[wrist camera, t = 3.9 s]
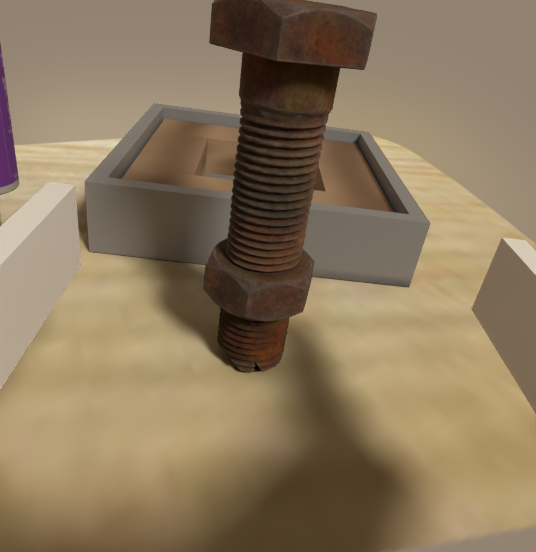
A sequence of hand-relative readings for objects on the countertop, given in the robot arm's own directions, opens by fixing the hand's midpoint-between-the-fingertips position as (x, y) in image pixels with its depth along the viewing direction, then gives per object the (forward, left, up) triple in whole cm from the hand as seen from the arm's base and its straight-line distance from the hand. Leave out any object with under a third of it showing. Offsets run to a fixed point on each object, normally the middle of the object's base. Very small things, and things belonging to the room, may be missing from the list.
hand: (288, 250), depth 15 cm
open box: (0, +23, -8) cm, 24 cm away
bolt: (0, +5, -9) cm, 10 cm away
